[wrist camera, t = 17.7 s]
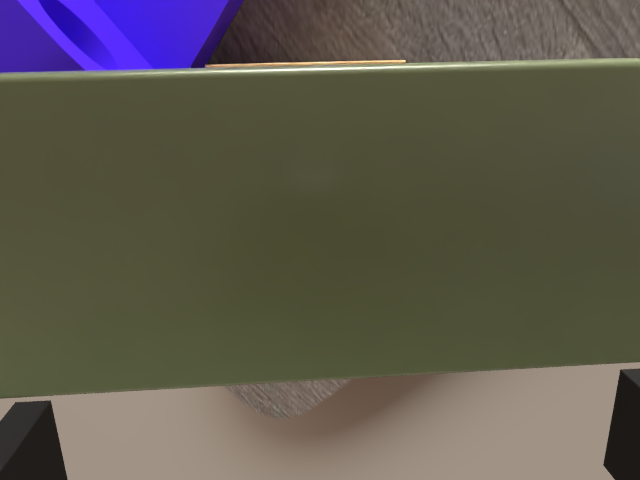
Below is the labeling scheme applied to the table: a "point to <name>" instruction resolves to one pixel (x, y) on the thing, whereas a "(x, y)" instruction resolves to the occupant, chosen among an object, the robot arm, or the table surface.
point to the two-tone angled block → (316, 222)
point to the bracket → (111, 34)
